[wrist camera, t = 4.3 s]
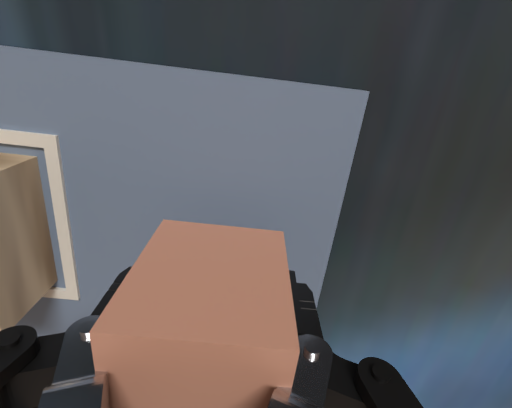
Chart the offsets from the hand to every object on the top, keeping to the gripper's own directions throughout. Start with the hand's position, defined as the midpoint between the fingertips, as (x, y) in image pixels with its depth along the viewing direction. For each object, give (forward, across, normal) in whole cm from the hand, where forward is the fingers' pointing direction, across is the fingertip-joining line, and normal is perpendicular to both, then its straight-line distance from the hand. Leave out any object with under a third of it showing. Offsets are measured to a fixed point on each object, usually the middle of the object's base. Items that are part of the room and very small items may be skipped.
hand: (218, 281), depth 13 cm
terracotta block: (0, 0, 0) cm, 0 cm away
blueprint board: (+4, +6, 0) cm, 8 cm away
